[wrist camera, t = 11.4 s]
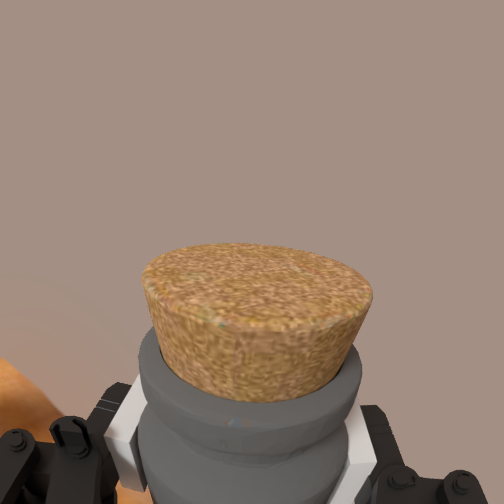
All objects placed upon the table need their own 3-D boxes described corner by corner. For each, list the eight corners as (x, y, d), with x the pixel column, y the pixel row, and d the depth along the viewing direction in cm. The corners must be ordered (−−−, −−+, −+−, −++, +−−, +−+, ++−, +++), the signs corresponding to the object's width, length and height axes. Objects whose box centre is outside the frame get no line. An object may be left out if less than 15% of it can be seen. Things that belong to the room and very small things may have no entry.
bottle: (170, 509, 13) (137, 233, 9) (275, 503, 14) (332, 240, 10) (176, 596, 7) (67, 341, 3) (302, 585, 8) (464, 325, 4)
